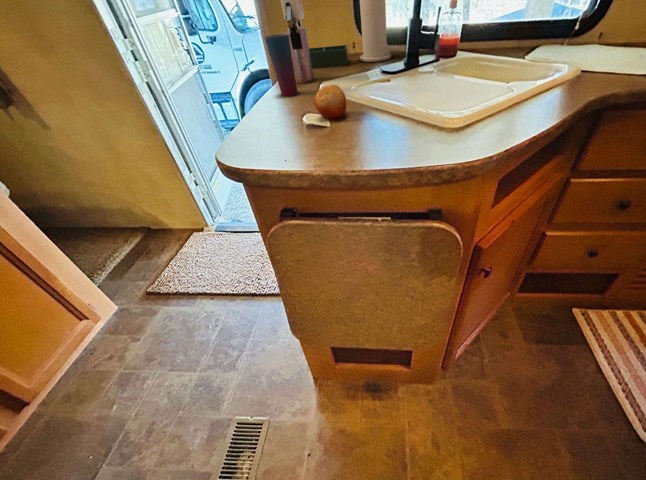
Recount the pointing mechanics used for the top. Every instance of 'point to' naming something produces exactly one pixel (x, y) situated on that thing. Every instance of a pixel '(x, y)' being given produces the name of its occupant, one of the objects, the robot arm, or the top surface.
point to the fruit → (330, 102)
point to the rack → (329, 56)
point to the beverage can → (302, 58)
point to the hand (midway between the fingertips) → (299, 46)
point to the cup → (282, 62)
